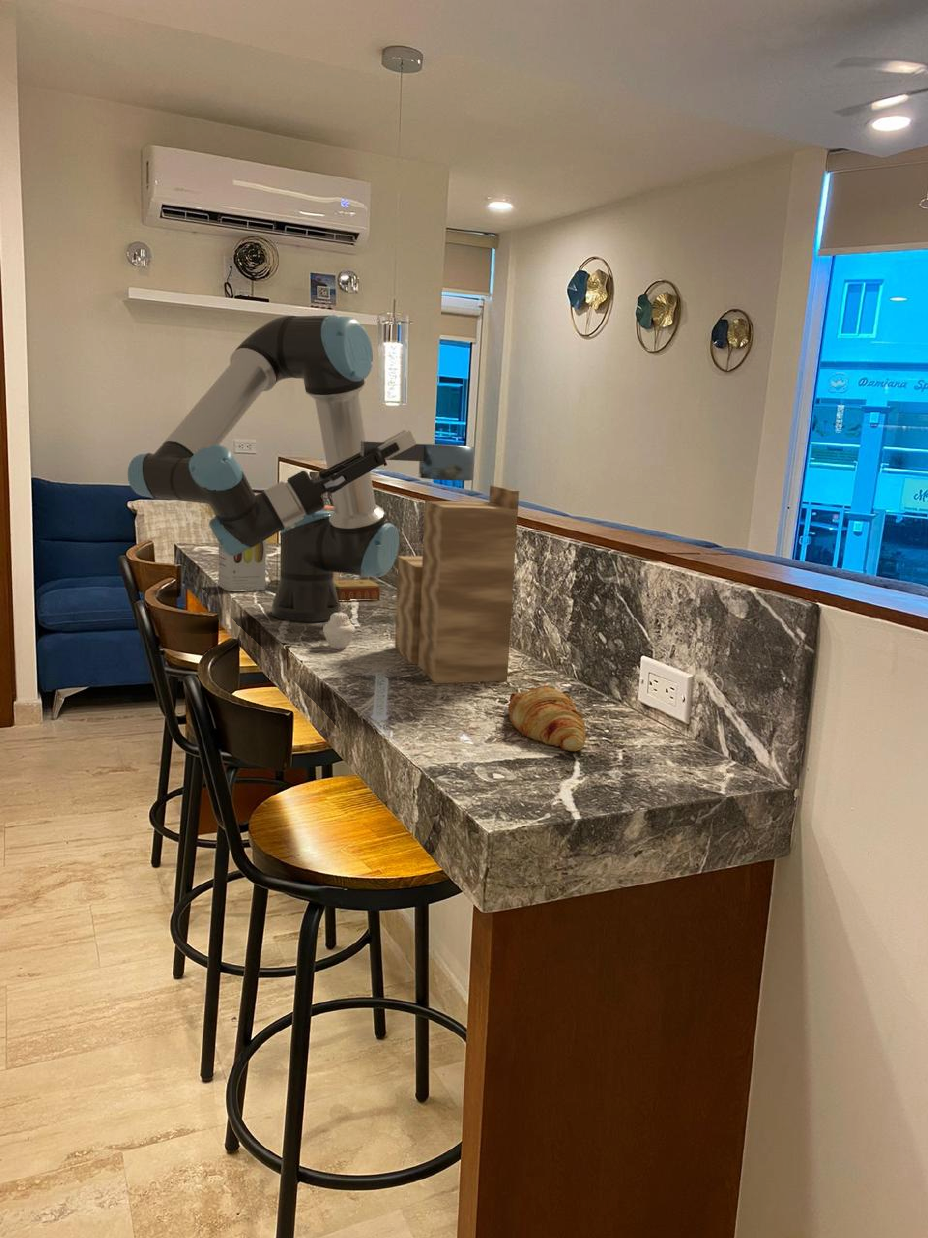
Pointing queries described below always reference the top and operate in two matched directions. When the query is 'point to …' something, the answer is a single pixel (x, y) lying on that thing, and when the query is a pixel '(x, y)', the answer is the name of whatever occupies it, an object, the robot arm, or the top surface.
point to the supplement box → (243, 569)
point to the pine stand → (460, 590)
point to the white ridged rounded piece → (338, 631)
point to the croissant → (548, 718)
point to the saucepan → (434, 460)
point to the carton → (357, 589)
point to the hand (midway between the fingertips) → (410, 436)
